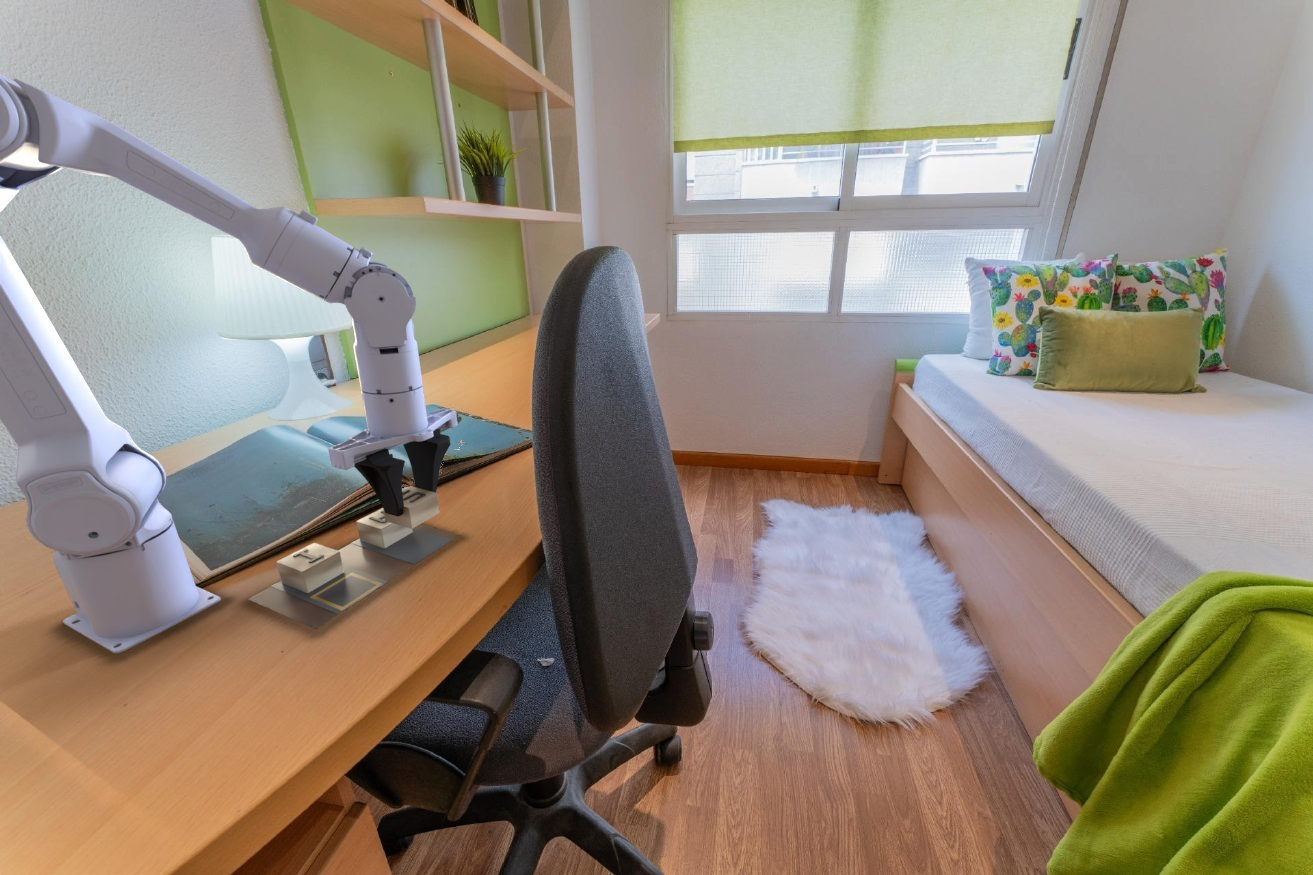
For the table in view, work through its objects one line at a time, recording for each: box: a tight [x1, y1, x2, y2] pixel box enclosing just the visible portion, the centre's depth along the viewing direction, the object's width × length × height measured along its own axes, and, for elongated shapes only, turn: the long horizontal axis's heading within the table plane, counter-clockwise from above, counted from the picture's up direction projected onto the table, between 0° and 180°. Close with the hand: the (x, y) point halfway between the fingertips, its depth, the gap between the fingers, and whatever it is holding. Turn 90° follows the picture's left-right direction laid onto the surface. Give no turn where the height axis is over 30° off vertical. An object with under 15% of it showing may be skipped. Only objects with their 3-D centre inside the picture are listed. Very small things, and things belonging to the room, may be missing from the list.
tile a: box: [356, 507, 412, 549], centre depth 61 cm, size 4×4×3 cm
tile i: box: [275, 542, 344, 593], centre depth 54 cm, size 4×4×3 cm
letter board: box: [247, 523, 460, 630], centre depth 57 cm, size 10×18×1 cm, turn 156°
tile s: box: [383, 485, 441, 529], centre depth 58 cm, size 4×4×3 cm
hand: (410, 504), depth 58 cm, fingers closed on tile s, 4 cm apart
